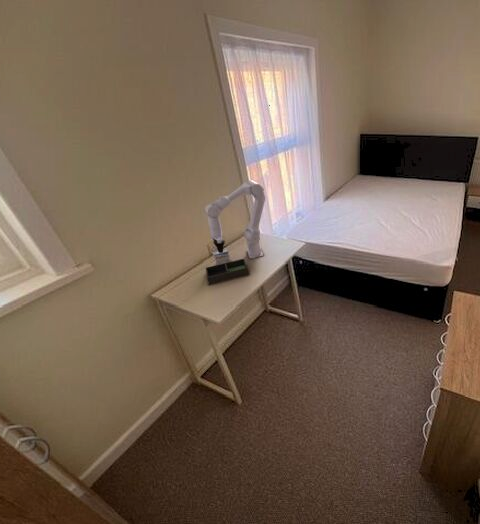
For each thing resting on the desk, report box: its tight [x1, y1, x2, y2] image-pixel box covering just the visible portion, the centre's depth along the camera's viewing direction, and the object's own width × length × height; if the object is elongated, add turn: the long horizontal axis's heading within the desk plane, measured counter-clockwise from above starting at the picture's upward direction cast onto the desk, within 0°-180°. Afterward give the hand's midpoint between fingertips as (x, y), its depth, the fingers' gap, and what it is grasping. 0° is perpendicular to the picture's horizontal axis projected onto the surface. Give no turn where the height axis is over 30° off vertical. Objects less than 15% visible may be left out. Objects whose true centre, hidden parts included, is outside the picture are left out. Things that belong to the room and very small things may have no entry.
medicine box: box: [212, 248, 232, 265], centre depth 162 cm, size 8×4×9 cm, turn 117°
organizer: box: [205, 258, 250, 286], centre depth 154 cm, size 11×21×5 cm, turn 115°
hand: (219, 249), depth 157 cm, fingers open, 7 cm apart
